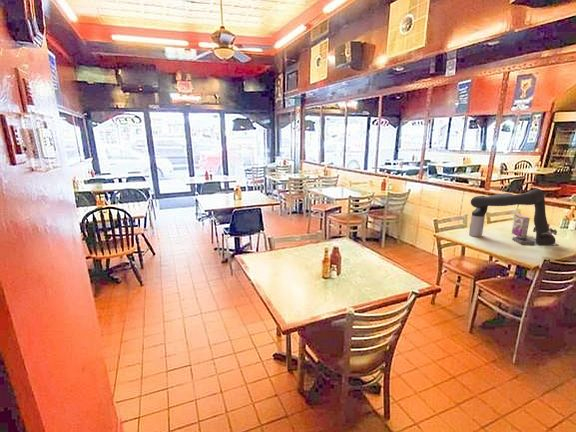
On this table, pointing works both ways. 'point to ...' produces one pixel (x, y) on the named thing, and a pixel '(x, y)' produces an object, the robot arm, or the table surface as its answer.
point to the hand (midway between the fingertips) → (544, 228)
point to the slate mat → (535, 242)
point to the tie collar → (518, 239)
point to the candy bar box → (520, 225)
